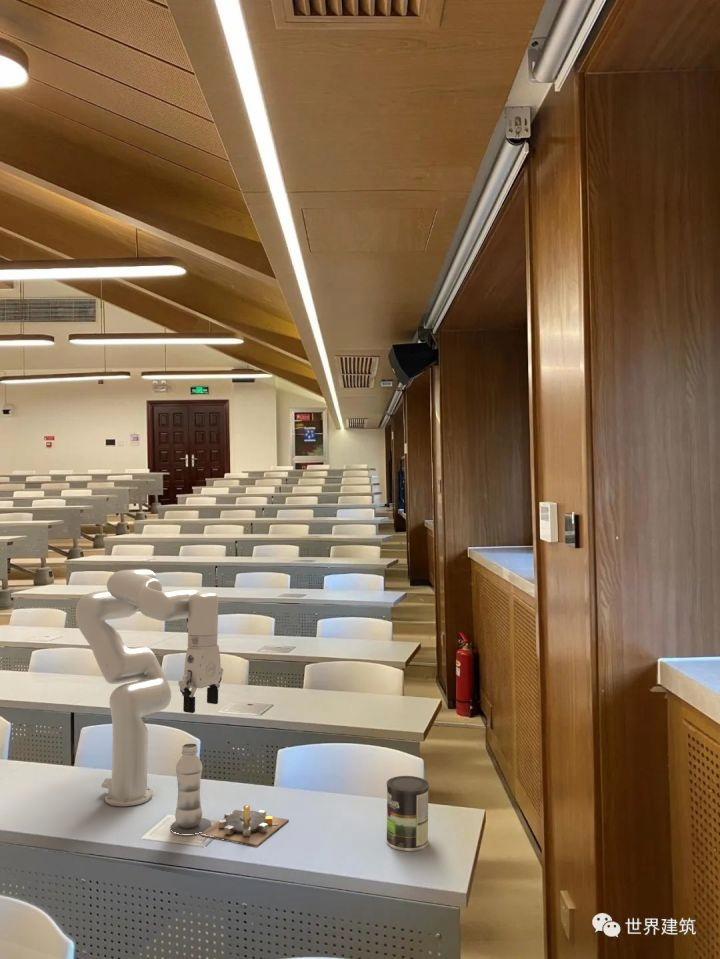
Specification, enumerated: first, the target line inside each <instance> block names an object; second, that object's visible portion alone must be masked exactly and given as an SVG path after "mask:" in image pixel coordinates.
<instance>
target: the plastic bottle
mask: <svg viewBox="0 0 720 959" xmlns="http://www.w3.org/2000/svg"><path fill="white" fill-rule="evenodd" d="M198 752H199V750H198V744H197V743H193V742H192V743H191V742H190V743H185V744H183V745H182V748H181V754H182V756H181V757H180V758H179V760H178V761H177V763H176V767H175V772H176V773H175V774H176V781H177V789H178V790H177V804H176V809H175V815H174V817H175V818H174V819H175V821H176V823H177V825H178V826H179V827H181V828H193V827H196V826H198V825H199V824H200V822H201V819H202V818H203V810H202V806H201V779H202V774H203V773H202V772H203V764H202V760H201V759H200V758H199V756H198V755H197V754H198Z"/></svg>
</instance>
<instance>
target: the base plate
mask: <svg viewBox="0 0 720 959" xmlns="http://www.w3.org/2000/svg"><path fill="white" fill-rule="evenodd" d="M240 811H241V810H239V809H234V810H233V811H232V813H235V812H240ZM266 816H268V815H267V814H266ZM222 819H224V817H223V818H222ZM289 822H290V820H289V819H288V818H282V817H276V816H272V824H270V825H268V830H267V831H265V832H260V831H257V832H253V833H250V836H243V834H240V833H232V834H230V835H229V834H226V833H224V832H225V828H219V820H218V821H216V822H215V823H214V824H211V827H209V828H208V829H206V830H205V831H203V832H202V833H201V834H206V835H211V836H214V837H216V838H219V839H218V840H221V839H224V840H223V841H225V840H229V841H228V842H230V841H234V842H233V843H235V842H238V843H237V844H240V843H243V844H242V845H245V844H247V845H246V846H250V845H251V846H250V847H254V846H256V848H258V847H260V845H261V844H263V843H264V842H265V841H267V840H268V839H269V838H270V837H271V836H273V835H274V834H276V832H278V831H279V830H280V829H281V828H283V827H284V826H285V825H286V824H288V823H289ZM201 834H200V835H201ZM272 834H273V835H272ZM216 838H215V839H216ZM267 838H268V839H267ZM262 842H263V843H262ZM257 846H258V847H257Z"/></svg>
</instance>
